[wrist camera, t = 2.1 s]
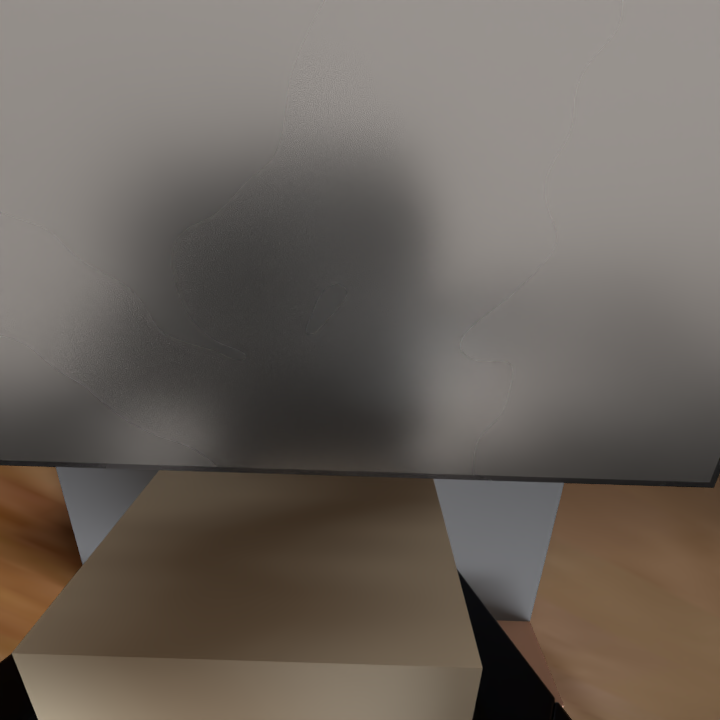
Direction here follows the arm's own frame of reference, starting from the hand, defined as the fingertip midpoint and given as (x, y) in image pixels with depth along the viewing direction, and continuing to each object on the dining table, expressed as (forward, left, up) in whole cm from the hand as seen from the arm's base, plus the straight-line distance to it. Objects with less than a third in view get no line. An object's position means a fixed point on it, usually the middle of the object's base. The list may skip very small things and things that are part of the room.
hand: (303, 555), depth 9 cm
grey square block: (0, -7, -2) cm, 7 cm away
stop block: (0, 0, -1) cm, 1 cm away
